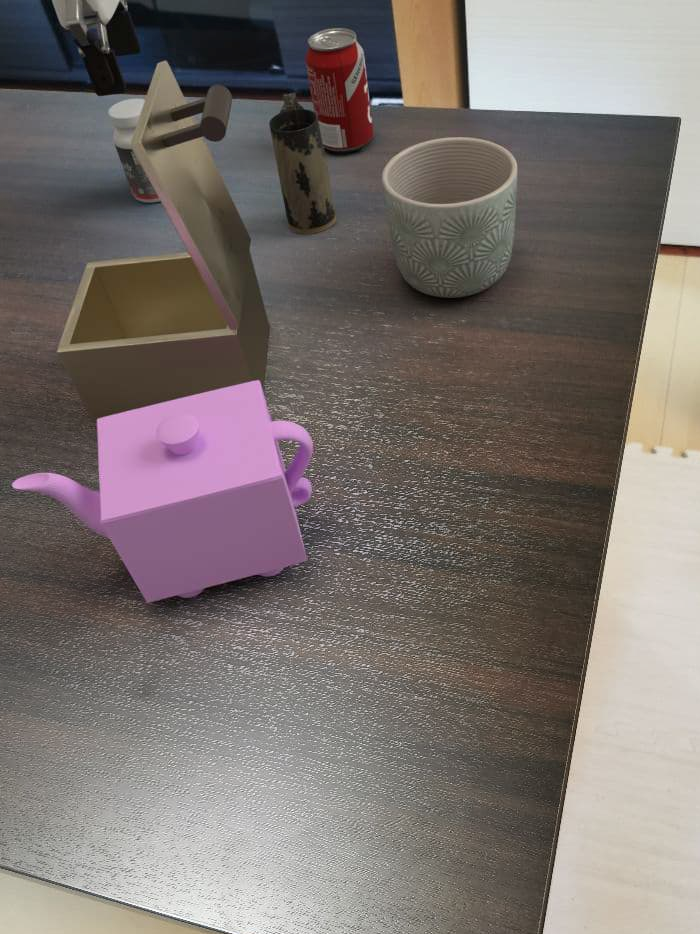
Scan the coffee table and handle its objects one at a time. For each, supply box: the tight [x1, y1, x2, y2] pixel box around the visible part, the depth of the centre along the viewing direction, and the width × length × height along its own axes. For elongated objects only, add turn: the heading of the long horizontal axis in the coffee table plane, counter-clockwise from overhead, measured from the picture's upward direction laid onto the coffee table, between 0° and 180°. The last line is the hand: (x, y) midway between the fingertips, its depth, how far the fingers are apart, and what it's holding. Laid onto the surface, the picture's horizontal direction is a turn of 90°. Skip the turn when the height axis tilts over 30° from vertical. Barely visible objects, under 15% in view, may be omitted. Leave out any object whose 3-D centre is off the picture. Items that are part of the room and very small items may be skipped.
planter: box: [381, 136, 519, 299], centre depth 81 cm, size 12×12×11 cm
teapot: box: [11, 380, 314, 604], centre depth 60 cm, size 20×10×12 cm, turn 105°
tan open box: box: [56, 250, 271, 430], centre depth 75 cm, size 15×13×9 cm
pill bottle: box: [107, 98, 161, 204], centre depth 97 cm, size 6×6×10 cm
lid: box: [130, 60, 252, 330], centre depth 65 cm, size 16×13×5 cm
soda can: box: [305, 27, 374, 154], centre depth 100 cm, size 7×7×12 cm
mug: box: [268, 91, 338, 235], centre depth 90 cm, size 8×6×12 cm
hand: (120, 73), depth 90 cm, fingers open, 9 cm apart
